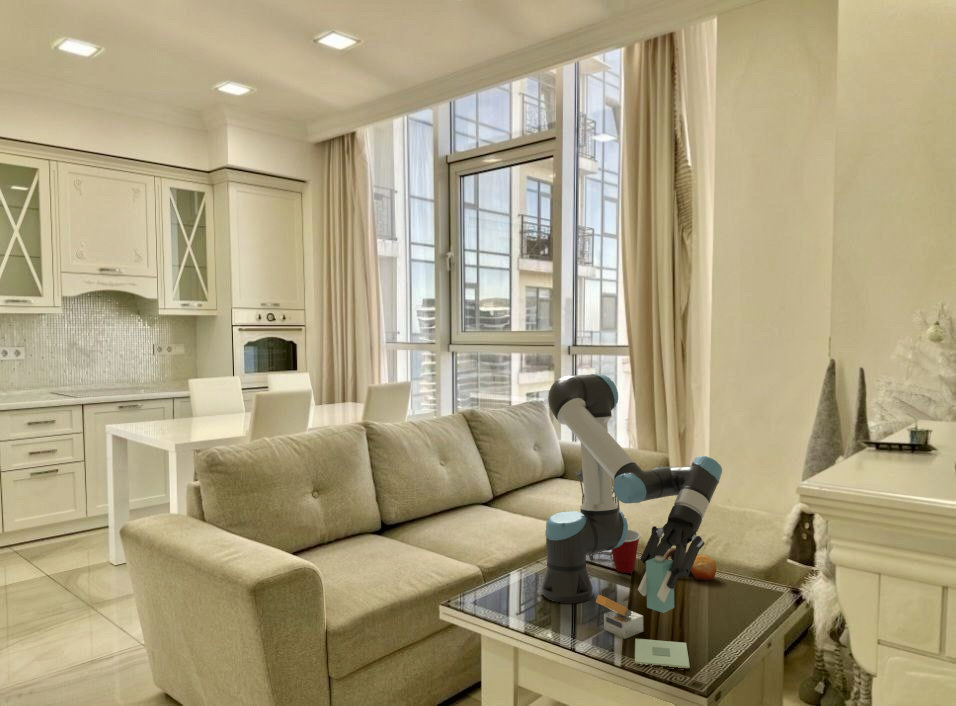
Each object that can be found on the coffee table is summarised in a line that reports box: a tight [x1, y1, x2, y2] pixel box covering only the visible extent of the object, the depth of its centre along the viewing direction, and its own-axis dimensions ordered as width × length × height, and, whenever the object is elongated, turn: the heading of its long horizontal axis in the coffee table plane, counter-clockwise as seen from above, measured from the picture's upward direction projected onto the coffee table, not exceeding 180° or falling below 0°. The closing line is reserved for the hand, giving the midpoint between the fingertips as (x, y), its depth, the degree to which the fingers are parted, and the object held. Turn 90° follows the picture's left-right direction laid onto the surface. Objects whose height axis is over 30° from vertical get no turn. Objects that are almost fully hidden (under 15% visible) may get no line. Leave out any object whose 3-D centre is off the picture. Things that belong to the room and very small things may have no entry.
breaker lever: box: [595, 594, 632, 617], centre depth 165 cm, size 2×4×10 cm
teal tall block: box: [646, 556, 675, 614], centre depth 153 cm, size 4×4×12 cm
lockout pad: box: [634, 638, 691, 669], centre depth 153 cm, size 12×12×1 cm
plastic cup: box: [611, 529, 641, 574], centre depth 212 cm, size 11×11×12 cm
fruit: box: [690, 554, 717, 581], centre depth 203 cm, size 8×8×8 cm
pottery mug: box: [664, 547, 687, 561], centre depth 210 cm, size 12×10×8 cm
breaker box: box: [603, 610, 644, 640], centre depth 167 cm, size 7×7×4 cm
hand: (651, 595), depth 150 cm, fingers closed on teal tall block, 4 cm apart
